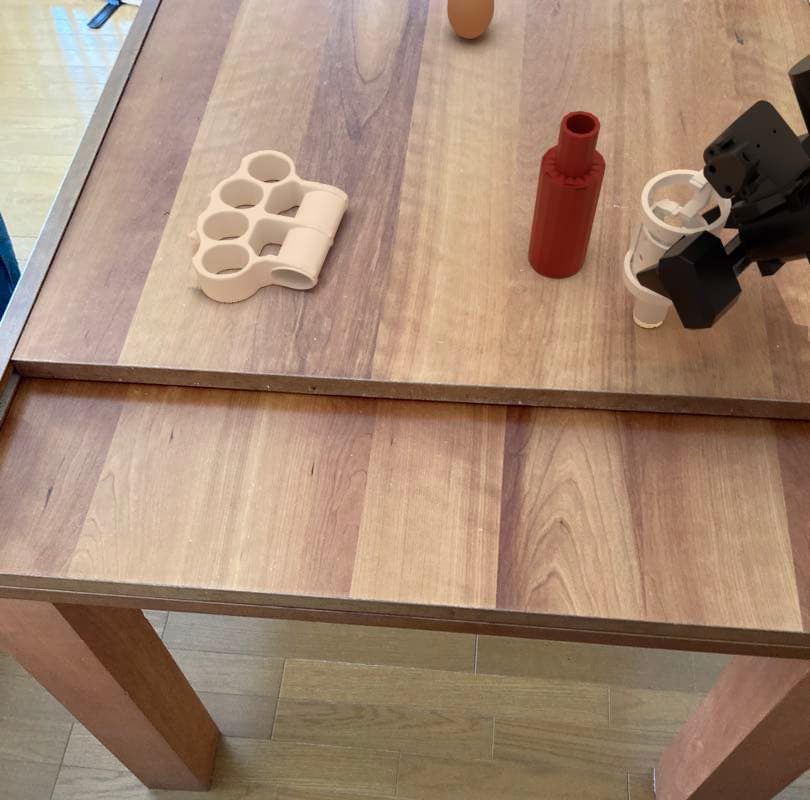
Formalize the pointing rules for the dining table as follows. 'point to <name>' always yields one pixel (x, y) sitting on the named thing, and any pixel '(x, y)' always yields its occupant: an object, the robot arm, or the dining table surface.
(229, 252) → the knuckle duster
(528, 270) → the dining table surface
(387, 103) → the dining table surface
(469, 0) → the egg
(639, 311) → the cream cylindrical cage part
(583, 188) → the sauce bottle
